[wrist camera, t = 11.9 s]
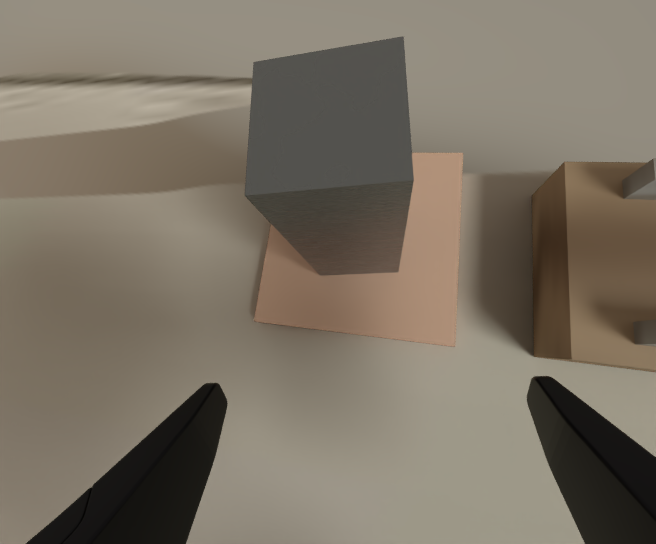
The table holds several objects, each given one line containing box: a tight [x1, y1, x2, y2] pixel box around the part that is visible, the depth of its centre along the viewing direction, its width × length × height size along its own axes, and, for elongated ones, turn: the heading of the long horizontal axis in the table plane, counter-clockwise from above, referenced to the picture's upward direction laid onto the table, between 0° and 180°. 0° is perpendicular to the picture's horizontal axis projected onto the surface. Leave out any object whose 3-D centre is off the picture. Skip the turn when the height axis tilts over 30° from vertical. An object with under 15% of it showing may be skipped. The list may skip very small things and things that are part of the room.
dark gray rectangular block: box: [245, 37, 414, 276], centre depth 12 cm, size 5×4×9 cm
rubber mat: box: [254, 153, 463, 347], centre depth 17 cm, size 10×10×1 cm
